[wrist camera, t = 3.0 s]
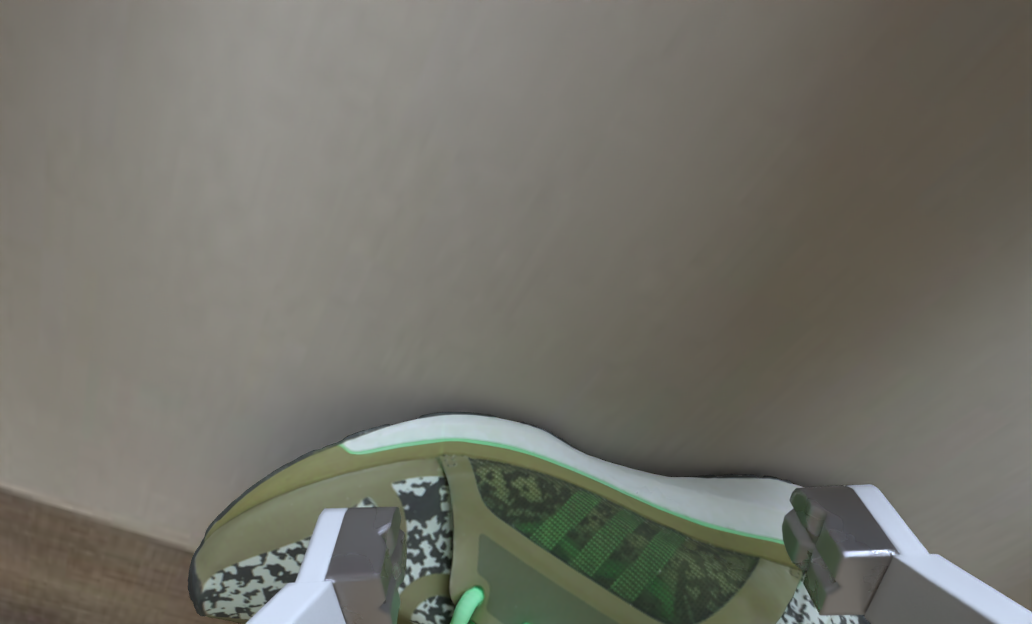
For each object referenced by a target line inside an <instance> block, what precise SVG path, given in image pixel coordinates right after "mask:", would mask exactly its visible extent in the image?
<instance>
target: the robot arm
mask: <svg viewBox="0 0 1032 624" xmlns="http://www.w3.org/2000/svg"><path fill="white" fill-rule="evenodd" d="M789 501H790V503H791V504H792V506H793V509H792V510H791V511H789V512H788V513H787V514H786V515H785V516H784V520H783V524H782V534H783V541H784V545H785V548H786V551H787V553H788V555H789V557H790V559H791V561H792V563H793V564H795V565H796V566H797V567H799V568H800V569H801V570H803V571H804V572H805V577H804V581H803V584H804V586H805V588H806V590H807V592H808V594H809V596H810V598H811V600H812V601H813V603H814V605H815V607H816V609H817V611H818V613H819V615H820V616H826V615H865V616H864V618H865V619H866V620H867V621H869V622H870V623H871V624H1032V612H1031V611H1029V610H1028V609H1026V608H1024V607H1023V606H1021V605H1019V604H1018V603H1016V602H1015V601H1013V600H1011V599H1010V598H1008V597H1007V596H1005V595H1003V594H1002V593H1000V592H998V591H997V590H995V589H994V588H992V587H990V586H989V585H987V584H985V583H984V582H982V581H981V580H979V579H977V578H976V577H974V576H973V575H971V574H969V573H968V572H966V571H964V570H963V569H961V568H960V567H958V566H956V565H955V564H953V563H951V562H950V561H948V560H947V559H945V558H943V557H942V556H940V555H939V554H929V553H928V551H927V550H926V549H925V547H924V546H923V545H922V544H921V542H920V541H919V540H918V538H917V537H916V536H915V535H914V533H913V532H912V531H911V530H910V528H909V527H908V526H907V524H906V523H905V522H904V521H903V519H902V518H901V517H900V515H899V514H898V513H897V512H896V510H895V509H894V508H893V506H892V505H891V504H890V503H889V501H888V500H887V499H886V498H885V496H884V495H883V494H882V492H881V491H880V490H879V489H878V488H877V487H875V486H874V485H872V484H866V485H846V486H844V485H836V486H819V487H802V488H796V489H795V490H794V491H793V492H792V494H791V497H790V500H789ZM400 523H401V514H400V510H399V507H355V508H325V509H324V510H323V511H322V512H321V514H320V515H319V517H318V520H317V522H316V525H315V528H314V531H313V534H312V536H311V539H310V542H309V545H308V548H307V550H306V553H305V556H304V559H303V561H302V564H301V567H300V570H299V573H298V575H297V578H296V581H295V582H294V583H287V584H286V585H285V586H284V587H283V588H282V589H281V590H280V591H279V592H278V593H277V594H276V595H275V596H273V597H272V598H271V599H270V600H269V601H268V602H267V603H266V604H265V605H264V606H263V607H262V608H261V609H260V610H259V611H258V612H257V613H256V614H255V615H254V616H253V617H252V618H251V619H250V620H249V621H247V622H246V623H245V624H397V619H398V613H399V607H400V602H401V601H400V597H399V593H398V587H399V585H400V584H401V583H402V582H403V581H404V578H405V571H406V562H407V544H406V537H405V532H403V531H402V530H401V529H399V528H400Z"/></svg>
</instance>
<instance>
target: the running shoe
mask: <svg viewBox="0 0 1032 624" xmlns="http://www.w3.org/2000/svg"><path fill="white" fill-rule="evenodd" d="M796 488H802V487H801V486H799V485H795V484H792V483H791V482H790V481H788V480H780V479H778V478H775V477H769V476H763V477H762V478H758V477H756V476H754V475H742V476H739V475H733V474H730V475H724V476H721V477H717V476H714V475H707V476H698V477H697V478H695V477H667V476H662V475H657V474H651V473H648V472H644V471H640V470H635V469H631V468H628V467H625V466H622V465H617V464H613V463H611V462H607V461H604V460H601V459H599V458H596V457H593V456H589V455H587V454H585V453H583V452H581V451H579V450H577V449H576V448H574V447H573V446H571V445H569V444H568V443H567V442H565V441H564V440H563V439H561V438H560V437H558V436H556V435H554V434H553V433H551V432H549V431H546V430H544V429H542V428H540V427H537V426H534V425H531V424H527V423H524V422H520V423H519V422H515V421H510V420H506V419H500V418H497V417H496V416H493V415H487V414H479V413H469V412H445V413H433V414H427V415H423V416H421V417H419V418H418V419H415V420H411V421H406V422H402V423H398V424H395V425H392V426H391V425H389V424H386V425H382V426H379V427H375V428H371V429H368V430H363V431H360V432H357V433H355V434H352V435H350V436H347V437H346V438H344V439H343V440H342V441H340V442H338V443H335V444H332V445H329V446H326V447H324V448H322V449H320V450H313V451H311V452H309V453H307V454H305V455H303V456H301V457H299V458H297V459H296V460H294V461H292V462H290V463H288V464H286V465H284V466H282V467H280V468H279V469H277V470H275V471H273V472H272V473H271V474H269V475H268V476H266V477H265V478H264V479H262V480H260V481H259V482H257V483H256V484H254V485H253V486H252V487H250V488H249V489H247V490H246V491H245V492H244V493H243V494H242V495H241V496H240V497H238V498H237V499H236V500H234V501H233V502H232V503H231V504H230V505H229V506H228V507H227V508H226V509H225V510H224V511H223V512H222V513H221V514H219V515H218V516H217V517H216V519H215V520H214V521H213V522H212V523H211V524H210V525H209V527H208V528H207V530H206V533H205V537H204V538H203V540H202V542H201V544H200V546H199V547H198V548H197V550H196V551H195V553H194V555H193V557H192V560H191V564H190V569H189V577H188V590H189V595H190V599H191V600H192V602H193V604H194V607H195V609H196V612H197V613H198V614H199V615H200V616H207V617H210V618H217V619H223V620H228V621H233V622H237V623H241V624H245V623H246V622H247V621H249V620H250V619H251V618H252V617H253V616H254V615H255V614H256V613H257V612H258V611H259V610H260V609H261V608H262V607H263V606H264V605H265V604H266V603H267V602H268V601H269V600H270V599H271V598H272V597H273V596H275V595H276V594H277V593H278V592H279V591H280V590H281V589H282V588H283V587H284V586H285V585H286V584H287V583H294V582H295V581H296V578H297V575H298V573H299V570H300V567H301V564H302V561H303V559H304V556H305V553H306V550H307V548H308V545H309V542H310V539H311V536H312V534H313V531H314V528H315V525H316V522H317V520H318V517H319V515H320V514H321V512H322V511H323V510H324V509H325V508H355V507H399V510H400V514H401V523H400V528H399V529H401V530H402V531H403V532H405V537H406V544H407V562H406V571H405V578H404V581H403V582H402V583H401V584H400V585H399V587H398V593H399V597H400V601H401V602H400V607H399V613H398V619H397V624H871V623H870V622H869V621H867V620H866V619H865V618H864V616H865V615H826V616H820V615H819V613H818V611H817V609H816V607H815V605H814V603H813V601H812V600H811V598H810V596H809V594H808V592H807V590H806V588H805V586H804V584H803V581H804V577H805V572H804V571H803V570H801V569H800V568H799V567H797V566H796V565H795V564H793V563H792V561H791V559H790V557H789V555H788V553H787V551H786V548H785V545H784V541H783V534H782V524H783V520H784V516H785V515H786V514H787V513H788V512H789V511H791V510H792V509H793V506H792V504H791V503H790V501H789V500H790V497H791V494H792V492H793V491H794V490H795V489H796Z"/></svg>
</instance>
